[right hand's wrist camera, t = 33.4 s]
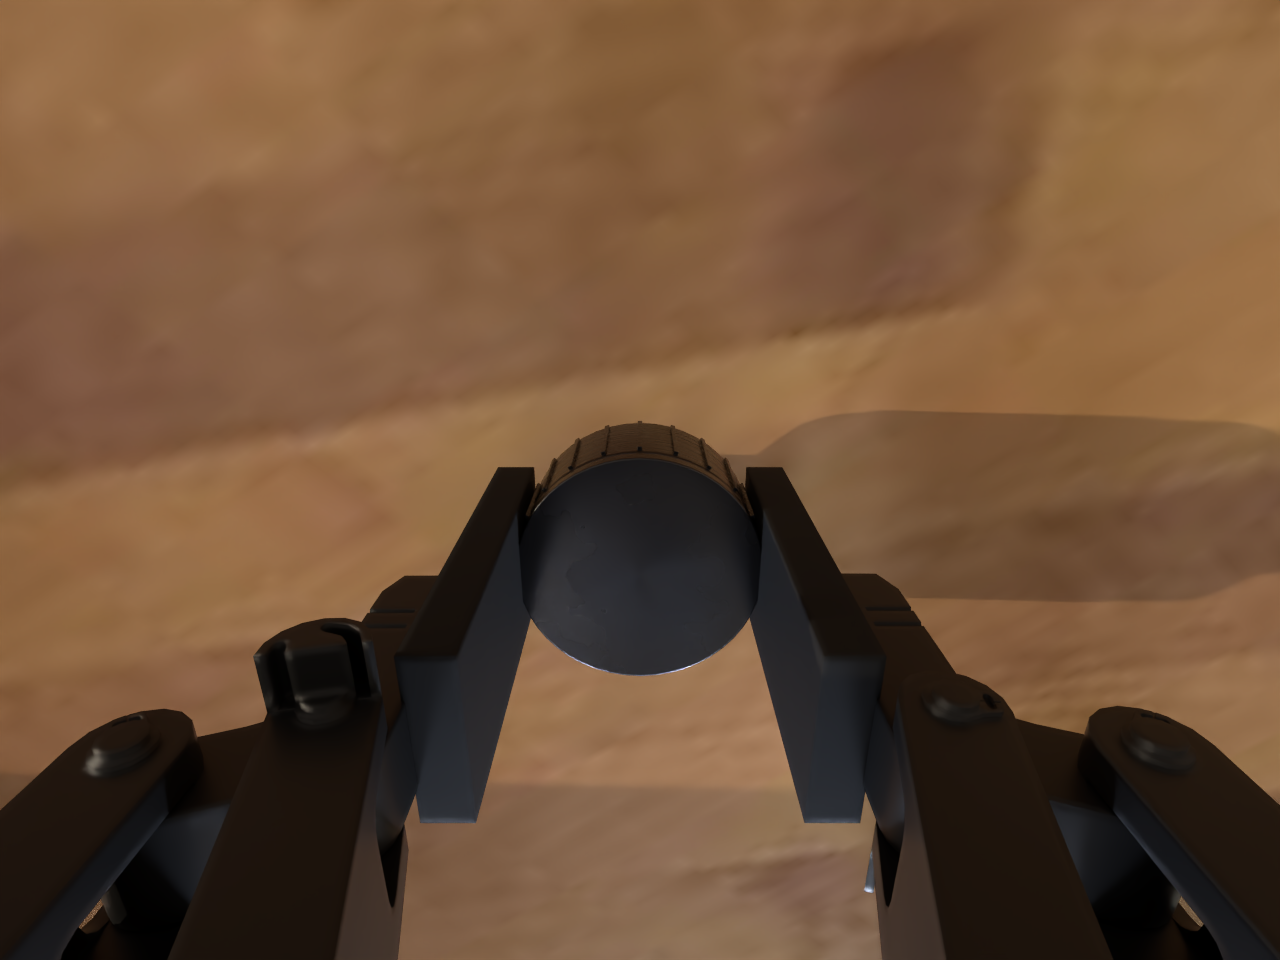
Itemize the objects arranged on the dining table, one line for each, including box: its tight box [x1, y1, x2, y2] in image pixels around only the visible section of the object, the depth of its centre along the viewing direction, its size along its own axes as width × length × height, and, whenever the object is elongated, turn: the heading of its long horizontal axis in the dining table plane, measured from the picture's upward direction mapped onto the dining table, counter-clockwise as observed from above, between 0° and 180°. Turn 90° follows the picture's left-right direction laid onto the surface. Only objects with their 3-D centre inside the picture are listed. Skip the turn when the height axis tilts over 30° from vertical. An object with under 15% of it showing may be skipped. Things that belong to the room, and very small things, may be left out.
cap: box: [519, 421, 761, 676], centre depth 14 cm, size 5×5×2 cm
